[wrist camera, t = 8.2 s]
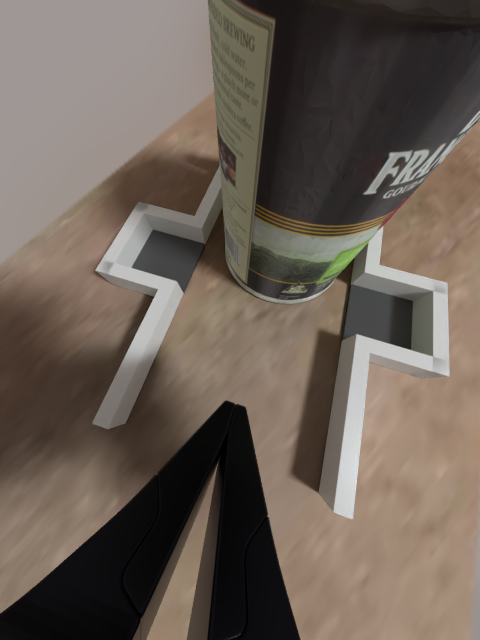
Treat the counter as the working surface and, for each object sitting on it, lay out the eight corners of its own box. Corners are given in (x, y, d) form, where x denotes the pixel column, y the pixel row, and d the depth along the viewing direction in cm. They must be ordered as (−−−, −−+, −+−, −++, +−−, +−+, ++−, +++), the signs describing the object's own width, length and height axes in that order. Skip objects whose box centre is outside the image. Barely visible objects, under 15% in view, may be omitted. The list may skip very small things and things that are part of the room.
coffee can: (362, 251, 18) (715, -127, 5) (289, 330, 16) (594, 0, 2) (276, 190, 20) (354, -188, 7) (200, 251, 18) (93, -155, 4)
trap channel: (418, 529, 12) (539, 623, 7) (46, 394, 14) (-52, 398, 9) (425, 218, 19) (485, 164, 15) (183, 160, 21) (168, 95, 17)
